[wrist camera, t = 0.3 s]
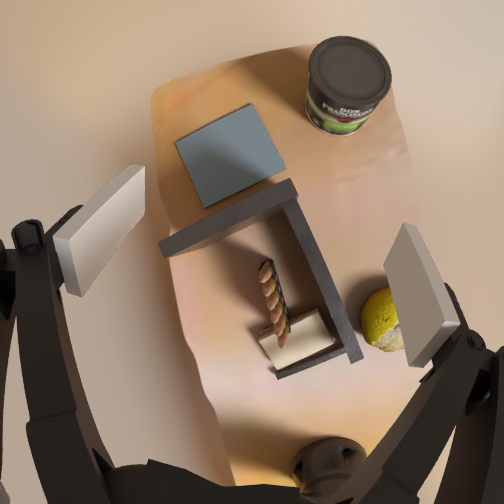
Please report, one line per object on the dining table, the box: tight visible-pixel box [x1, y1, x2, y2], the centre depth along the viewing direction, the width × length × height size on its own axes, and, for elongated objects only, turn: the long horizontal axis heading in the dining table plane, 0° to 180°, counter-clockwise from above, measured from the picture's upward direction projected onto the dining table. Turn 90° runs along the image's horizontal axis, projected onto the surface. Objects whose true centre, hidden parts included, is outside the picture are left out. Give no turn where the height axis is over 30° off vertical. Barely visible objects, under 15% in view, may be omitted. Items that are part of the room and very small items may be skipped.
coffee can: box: [305, 36, 392, 137], centre depth 39 cm, size 10×10×14 cm
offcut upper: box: [259, 310, 334, 370], centre depth 48 cm, size 6×10×1 cm, turn 119°
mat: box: [175, 104, 286, 208], centre depth 48 cm, size 12×14×1 cm
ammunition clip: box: [259, 260, 291, 349], centre depth 44 cm, size 11×2×12 cm, turn 17°
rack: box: [158, 178, 364, 380], centre depth 42 cm, size 26×16×16 cm, turn 25°
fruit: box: [360, 286, 405, 352], centre depth 45 cm, size 11×10×8 cm
